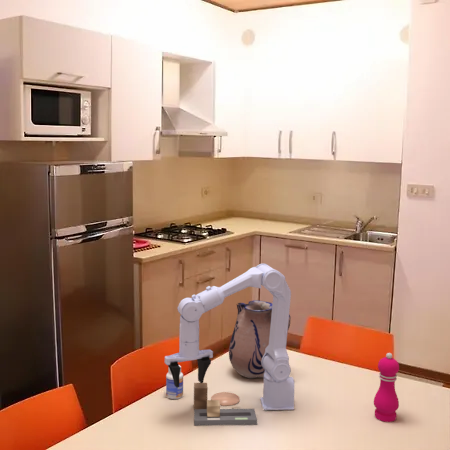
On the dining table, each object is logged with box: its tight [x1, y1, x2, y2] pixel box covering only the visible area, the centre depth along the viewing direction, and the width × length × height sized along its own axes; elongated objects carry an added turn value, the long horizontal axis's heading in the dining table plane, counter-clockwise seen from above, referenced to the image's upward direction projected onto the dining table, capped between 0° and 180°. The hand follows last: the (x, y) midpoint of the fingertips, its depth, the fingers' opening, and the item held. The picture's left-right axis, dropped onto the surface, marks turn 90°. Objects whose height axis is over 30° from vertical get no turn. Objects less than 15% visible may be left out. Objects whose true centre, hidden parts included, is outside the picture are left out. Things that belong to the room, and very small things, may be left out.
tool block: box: [193, 382, 209, 410], centre depth 174 cm, size 4×4×7 cm
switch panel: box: [193, 408, 258, 426], centre depth 167 cm, size 18×7×2 cm, turn 94°
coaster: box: [210, 391, 241, 407], centre depth 180 cm, size 9×9×1 cm
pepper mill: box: [373, 352, 400, 423], centre depth 169 cm, size 7×7×20 cm
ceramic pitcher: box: [228, 299, 292, 379], centre depth 199 cm, size 18×21×25 cm
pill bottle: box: [165, 364, 184, 400], centre depth 181 cm, size 5×5×10 cm
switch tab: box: [207, 399, 221, 417], centre depth 166 cm, size 4×4×3 cm
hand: (188, 383), depth 168 cm, fingers open, 7 cm apart
